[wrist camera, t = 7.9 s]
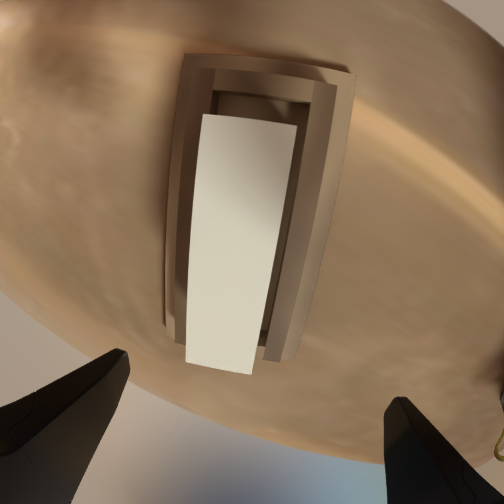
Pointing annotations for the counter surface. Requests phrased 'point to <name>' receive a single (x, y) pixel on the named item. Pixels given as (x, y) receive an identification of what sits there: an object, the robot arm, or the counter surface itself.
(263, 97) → the rack
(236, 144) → the white rectangular block
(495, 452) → the ceramic cup
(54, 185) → the counter surface
